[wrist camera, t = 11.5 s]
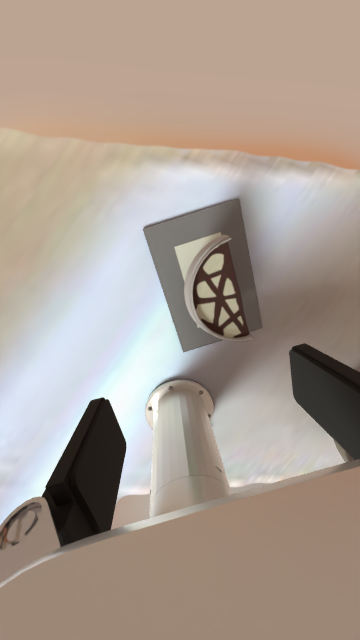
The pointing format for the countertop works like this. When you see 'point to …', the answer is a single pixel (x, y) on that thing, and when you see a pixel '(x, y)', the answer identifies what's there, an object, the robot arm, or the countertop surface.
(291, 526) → the robot arm
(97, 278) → the countertop surface
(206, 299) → the food container
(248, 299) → the mat
